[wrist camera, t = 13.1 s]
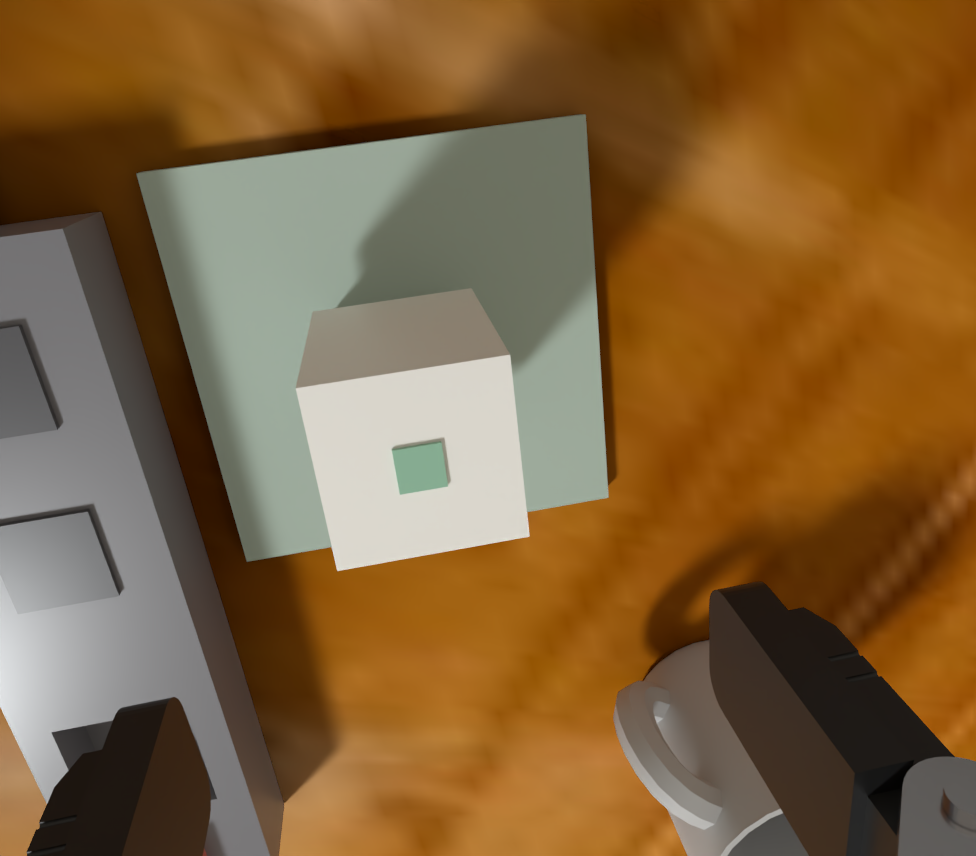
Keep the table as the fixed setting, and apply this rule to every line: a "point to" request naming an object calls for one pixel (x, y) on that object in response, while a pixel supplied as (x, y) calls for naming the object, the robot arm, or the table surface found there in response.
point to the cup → (699, 762)
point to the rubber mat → (383, 294)
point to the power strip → (107, 539)
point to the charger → (412, 428)
